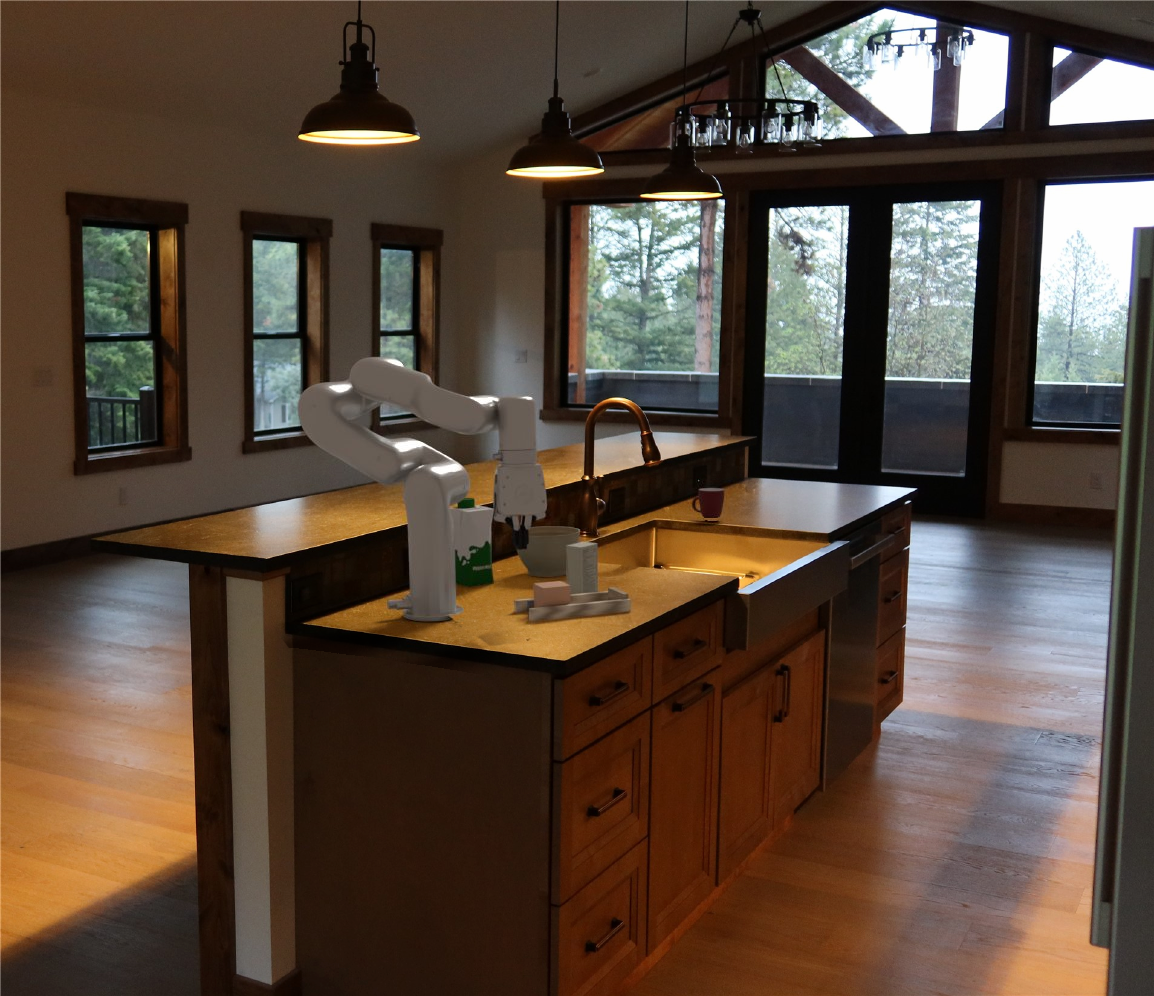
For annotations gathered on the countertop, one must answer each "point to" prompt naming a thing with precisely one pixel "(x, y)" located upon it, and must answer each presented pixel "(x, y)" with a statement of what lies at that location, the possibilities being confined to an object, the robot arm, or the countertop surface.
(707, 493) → the mug
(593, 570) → the skincare box
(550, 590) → the block
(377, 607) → the countertop surface
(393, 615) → the countertop surface
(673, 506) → the countertop surface
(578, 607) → the chute
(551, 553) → the planter bowl
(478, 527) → the milk carton
